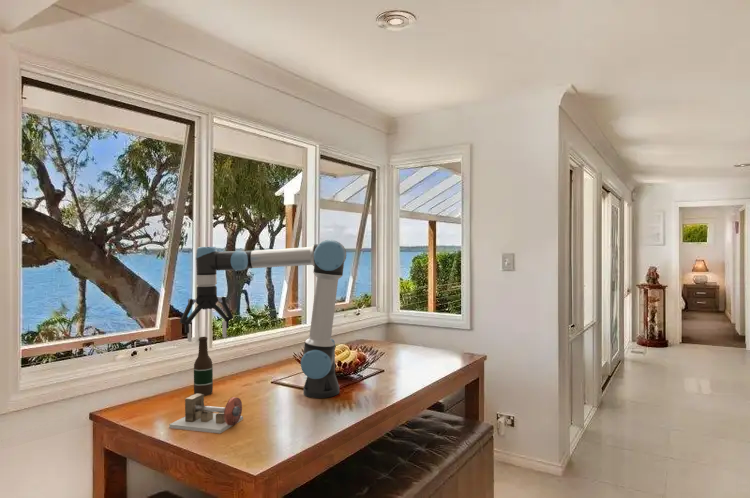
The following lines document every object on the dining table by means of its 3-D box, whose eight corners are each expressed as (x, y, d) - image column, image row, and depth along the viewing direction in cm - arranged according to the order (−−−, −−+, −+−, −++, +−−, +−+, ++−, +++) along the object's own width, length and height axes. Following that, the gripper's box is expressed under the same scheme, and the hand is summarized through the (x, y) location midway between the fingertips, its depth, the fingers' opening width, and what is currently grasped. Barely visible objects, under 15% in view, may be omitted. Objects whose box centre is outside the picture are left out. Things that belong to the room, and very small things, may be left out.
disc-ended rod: (244, 420, 172) (244, 394, 172) (230, 429, 163) (229, 402, 163) (195, 415, 177) (195, 390, 178) (178, 424, 169) (178, 397, 169)
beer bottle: (206, 396, 202) (206, 339, 202) (189, 395, 204) (189, 338, 204) (216, 391, 210) (216, 335, 210) (200, 390, 211) (199, 335, 211)
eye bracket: (230, 418, 172) (229, 396, 172) (219, 425, 166) (219, 401, 166) (196, 415, 176) (196, 393, 176) (185, 421, 170) (185, 398, 170)
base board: (242, 419, 175) (242, 415, 175) (220, 433, 161) (220, 429, 161) (195, 414, 180) (195, 411, 180) (169, 427, 167) (169, 424, 167)
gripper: (234, 283, 203) (235, 334, 203) (171, 286, 189) (171, 341, 189) (240, 284, 197) (241, 336, 197) (175, 287, 183) (176, 344, 183)
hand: (207, 339), depth 193 cm, fingers open, 13 cm apart
